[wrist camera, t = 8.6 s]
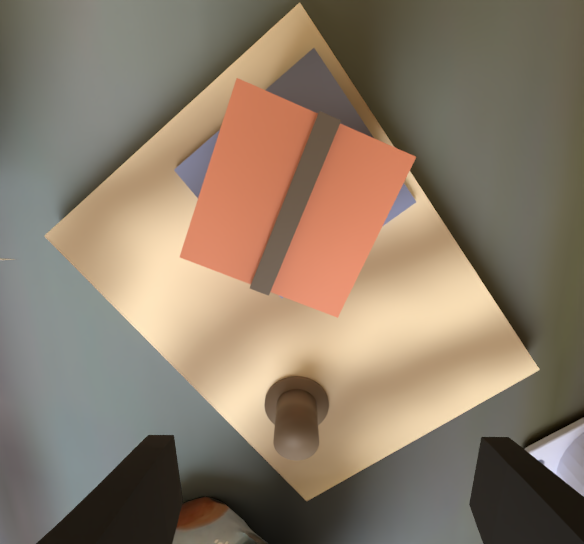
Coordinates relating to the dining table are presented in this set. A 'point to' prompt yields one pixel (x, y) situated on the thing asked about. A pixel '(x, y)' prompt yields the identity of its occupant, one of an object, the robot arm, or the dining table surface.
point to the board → (287, 313)
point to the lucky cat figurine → (212, 524)
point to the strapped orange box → (292, 200)
